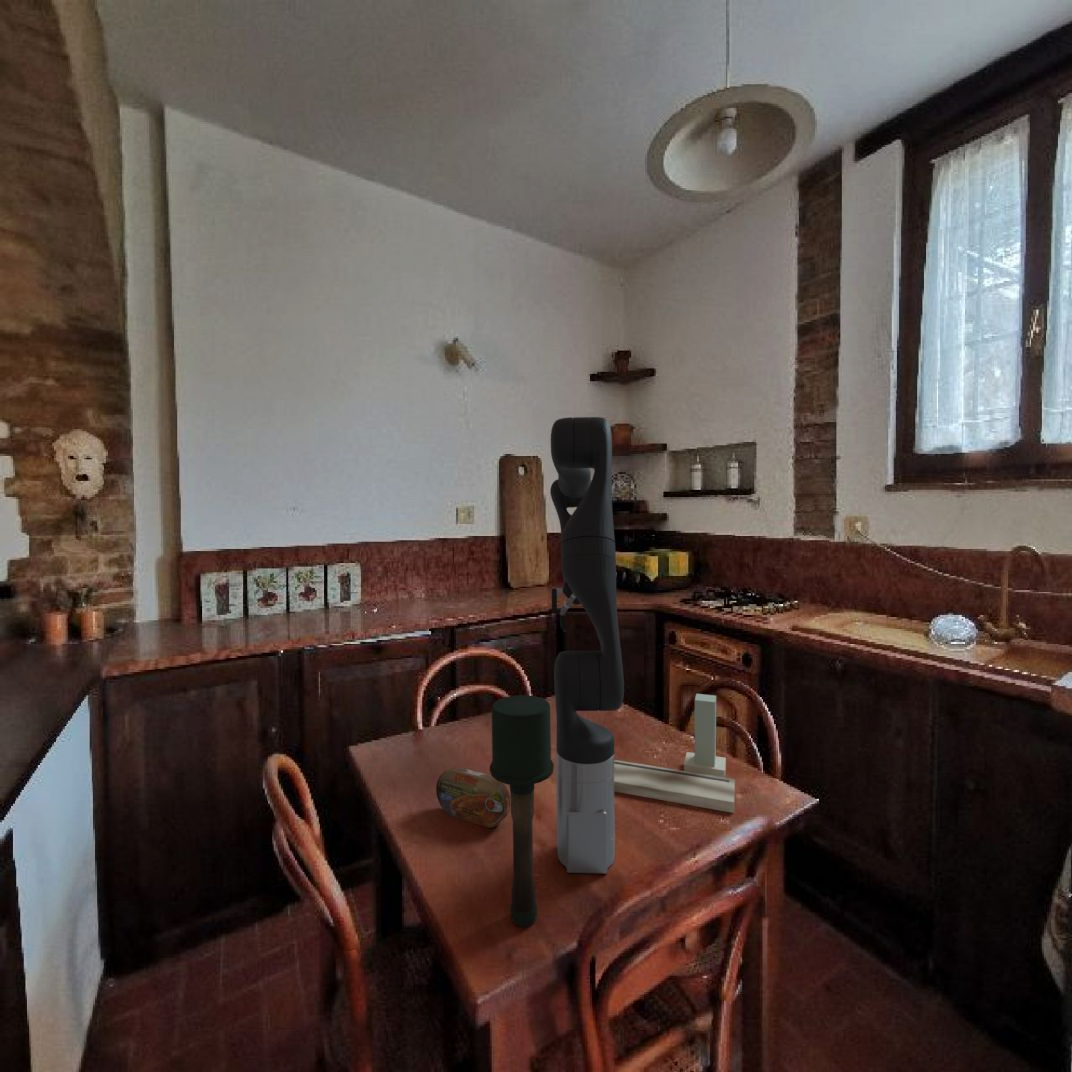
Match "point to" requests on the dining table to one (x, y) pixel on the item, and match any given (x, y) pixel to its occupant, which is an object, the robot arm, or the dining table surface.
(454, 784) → the tin
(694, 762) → the grey pillar on base
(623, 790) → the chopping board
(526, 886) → the stick grenade
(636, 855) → the dining table surface
